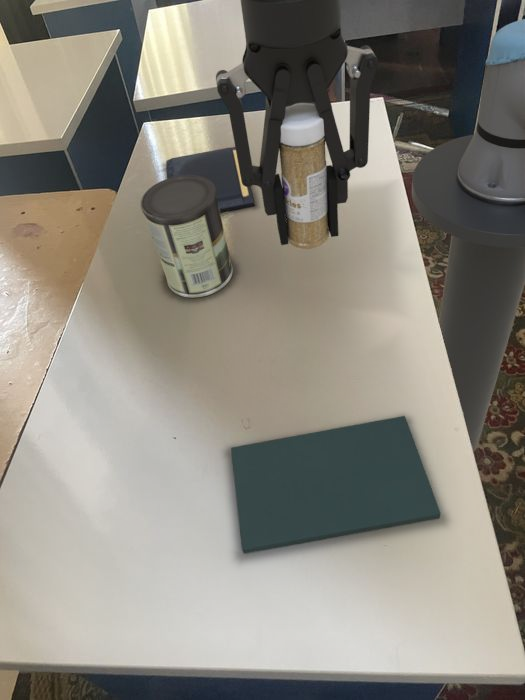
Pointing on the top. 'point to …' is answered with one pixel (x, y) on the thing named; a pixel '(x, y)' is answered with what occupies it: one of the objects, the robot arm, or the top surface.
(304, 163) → the sprinkles bottle
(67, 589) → the top surface
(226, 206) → the dark blue book
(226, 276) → the coffee can
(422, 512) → the dark green mat
